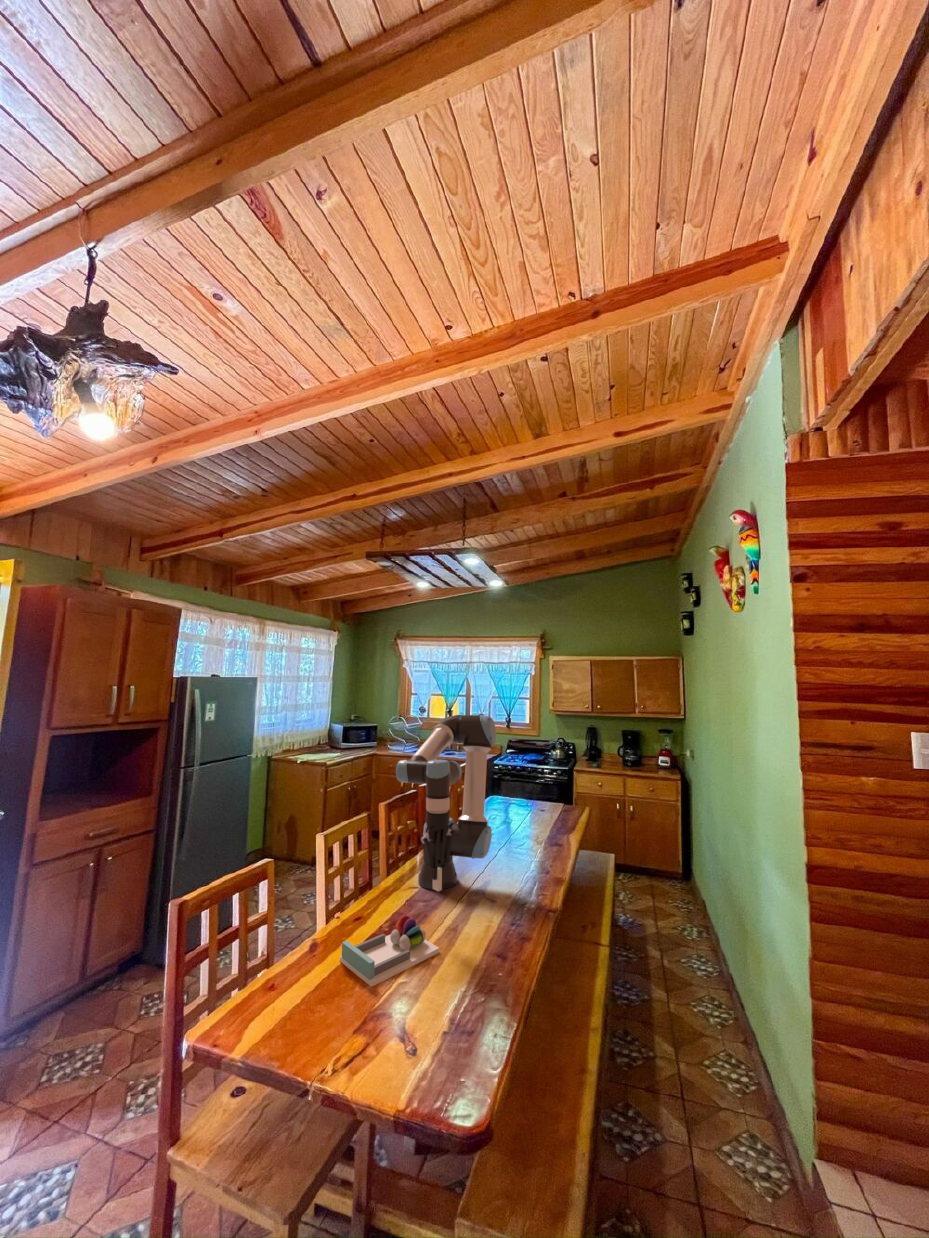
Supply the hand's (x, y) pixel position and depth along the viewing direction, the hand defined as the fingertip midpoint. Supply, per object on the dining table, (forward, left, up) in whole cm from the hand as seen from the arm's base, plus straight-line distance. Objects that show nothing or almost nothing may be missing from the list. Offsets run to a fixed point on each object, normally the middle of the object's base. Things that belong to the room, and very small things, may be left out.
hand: (437, 889), depth 151 cm
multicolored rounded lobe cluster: (+11, 0, -12) cm, 16 cm away
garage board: (+17, 0, -13) cm, 22 cm away
